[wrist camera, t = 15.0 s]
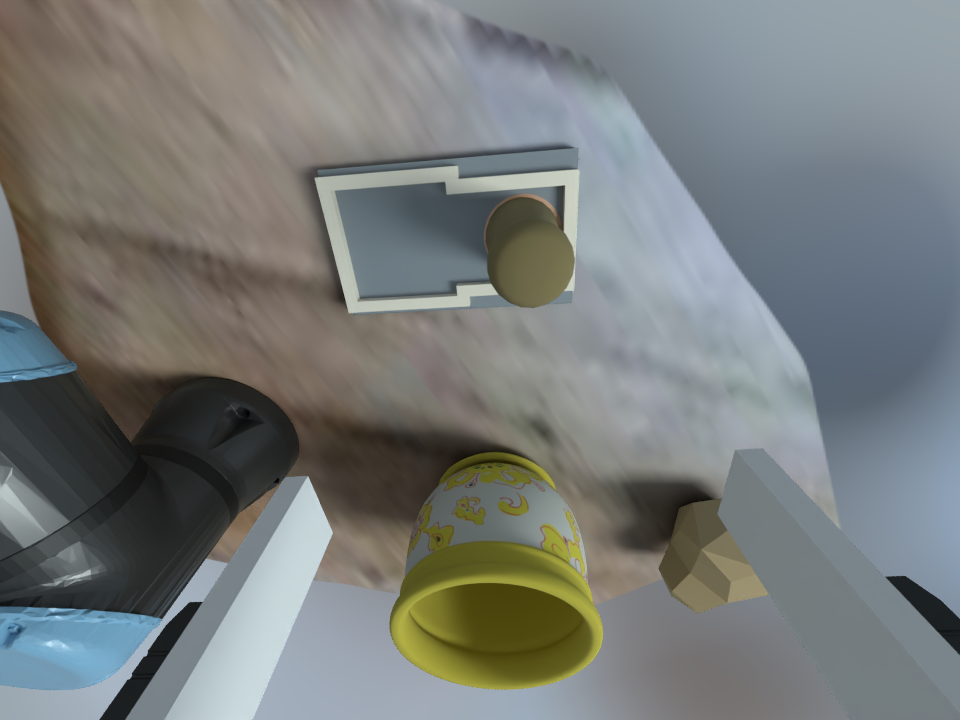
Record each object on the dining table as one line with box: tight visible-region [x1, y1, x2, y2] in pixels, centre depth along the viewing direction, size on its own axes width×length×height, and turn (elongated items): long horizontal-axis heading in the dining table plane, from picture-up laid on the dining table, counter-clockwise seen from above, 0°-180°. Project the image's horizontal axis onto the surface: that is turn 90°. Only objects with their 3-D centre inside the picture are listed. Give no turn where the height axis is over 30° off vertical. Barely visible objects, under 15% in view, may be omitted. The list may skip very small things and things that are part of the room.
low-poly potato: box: [659, 499, 769, 613], centre depth 42 cm, size 15×11×12 cm
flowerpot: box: [390, 452, 603, 690], centre depth 38 cm, size 18×18×16 cm
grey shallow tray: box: [315, 148, 580, 315], centre depth 31 cm, size 20×12×2 cm, turn 94°
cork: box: [485, 197, 575, 308], centre depth 26 cm, size 6×6×11 cm
